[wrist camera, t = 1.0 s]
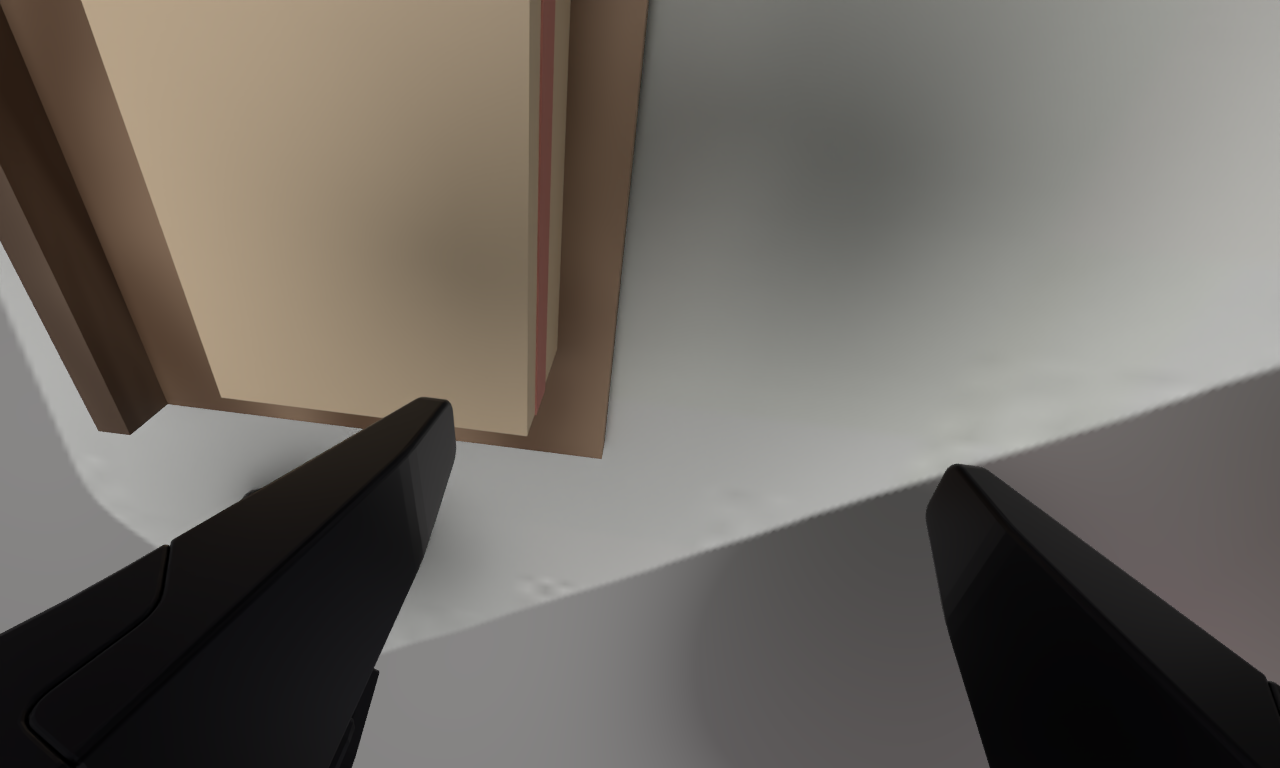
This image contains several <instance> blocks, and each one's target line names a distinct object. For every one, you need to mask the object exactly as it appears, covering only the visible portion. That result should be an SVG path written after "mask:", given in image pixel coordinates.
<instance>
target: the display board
mask: <svg viewBox="0 0 1280 768" xmlns="http://www.w3.org/2000/svg"><path fill="white" fill-rule="evenodd" d="M648 7H649V0H571V3H570V29H569V55H568V81H567V107H566V133H565V159H564V185H563V211H562V237H561V263H560V289H559V315H558V341H557V351H556V354H555V357H554V360H553V363H552V366H551V368H550V371H549V374H548V377H547V380H546V383H545V392H544V395H543V398H542V400H541V403H540V406H539V409H538V412H537V415H534V418H533V421H532V424H531V426H530V429H529V432H528V435H527V436H521V435H513V434H505V433H497V432H489V431H481V430H473V429H465V428H458V427H455V438H456V441H464V442H472V443H480V444H488V445H496V446H504V447H512V448H519V449H527V450H535V451H543V452H551V453H559V454H567V455H575V456H583V457H591V458H598V459H602V454H603V448H604V441H605V432H606V422H607V412H608V402H609V392H610V382H611V372H612V362H613V353H614V343H615V333H616V323H617V313H618V303H619V293H620V283H621V274H622V264H623V254H624V244H625V234H626V224H627V214H628V204H629V195H630V185H631V175H632V165H633V155H634V145H635V135H636V125H637V116H638V106H639V96H640V86H641V76H642V66H643V56H644V46H645V36H646V27H647V17H648ZM0 241H1V243H2V245H3V247H4V249H5V251H6V253H7V255H8V257H9V259H10V261H11V263H12V264H13V266H14V268H15V270H16V272H17V274H18V276H19V278H20V280H21V282H22V284H23V286H24V288H25V290H26V292H27V293H28V295H29V297H30V299H31V301H32V303H33V305H34V307H35V309H36V311H37V313H38V315H39V317H40V319H41V321H42V323H43V324H44V326H45V328H46V330H47V332H48V334H49V336H50V338H51V340H52V342H53V344H54V346H55V348H56V350H57V352H58V353H59V355H60V357H61V359H62V361H63V363H64V365H65V367H66V369H67V371H68V373H69V375H70V377H71V379H72V381H73V383H74V384H75V386H76V388H77V390H78V392H79V394H80V396H81V398H82V400H83V402H84V404H85V406H86V408H87V410H88V412H89V413H90V415H91V417H92V419H93V421H94V423H95V425H96V427H97V429H98V431H103V432H111V433H118V434H126V435H131V434H132V433H133V432H134V431H136V430H137V429H138V428H139V427H140V426H142V425H143V424H144V423H145V422H147V421H148V420H149V419H150V418H151V417H153V416H154V415H155V414H156V413H157V412H159V411H160V410H161V409H162V408H163V407H165V406H166V405H167V404H172V405H180V406H188V407H196V408H204V409H212V410H219V411H227V412H235V413H243V414H251V415H259V416H267V417H275V418H283V419H290V420H298V421H306V422H314V423H322V424H330V425H338V426H346V427H354V428H362V429H365V428H367V427H368V426H370V425H372V424H373V423H375V422H377V421H379V420H380V419H382V418H379V417H371V416H363V415H355V414H347V413H339V412H331V411H324V410H316V409H308V408H300V407H292V406H284V405H276V404H268V403H261V402H253V401H245V400H237V399H229V398H221V395H220V393H219V390H218V387H217V384H216V381H215V378H214V375H213V373H212V370H211V367H210V364H209V361H208V358H207V356H206V353H205V350H204V347H203V344H202V341H201V339H200V336H199V333H198V330H197V327H196V324H195V322H194V319H193V316H192V313H191V310H190V307H189V305H188V302H187V299H186V296H185V293H184V290H183V288H182V285H181V282H180V279H179V276H178V273H177V271H176V268H175V265H174V262H173V259H172V256H171V254H170V251H169V248H168V245H167V242H166V239H165V237H164V234H163V231H162V228H161V225H160V222H159V220H158V217H157V214H156V211H155V208H154V205H153V203H152V200H151V197H150V194H149V191H148V188H147V186H146V183H145V180H144V177H143V174H142V171H141V169H140V166H139V163H138V160H137V157H136V154H135V152H134V149H133V146H132V143H131V140H130V137H129V135H128V132H127V129H126V126H125V123H124V120H123V118H122V115H121V112H120V109H119V106H118V103H117V101H116V98H115V95H114V92H113V89H112V86H111V84H110V81H109V78H108V75H107V72H106V69H105V67H104V64H103V61H102V58H101V55H100V52H99V50H98V47H97V44H96V41H95V38H94V35H93V33H92V30H91V27H90V24H89V21H88V18H87V16H86V13H85V10H84V7H83V4H82V1H81V0H0Z"/></svg>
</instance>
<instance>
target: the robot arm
mask: <svg viewBox="0 0 1280 768" xmlns="http://www.w3.org/2000/svg"><path fill="white" fill-rule="evenodd" d="M455 455H456V438H455V427H454V416H453V408H452V405H451V403H450V402H449V401H448V400H446V399H438V398H430V397H419V398H417V399H415V400H413V401H411V402H410V403H408V404H406V405H405V406H403V407H401V408H399V409H398V410H396V411H394V412H392V413H391V414H389V415H387V416H386V417H384V418H382V419H380V420H379V421H377V422H375V423H373V424H372V425H370V426H368V427H367V428H365V429H363V430H361V431H360V432H358V433H356V434H354V435H353V436H351V437H349V438H348V439H346V440H344V441H342V442H341V443H339V444H337V445H335V446H334V447H332V448H330V449H329V450H327V451H325V452H323V453H322V454H320V455H318V456H316V457H315V458H313V459H311V460H310V461H308V462H306V463H304V464H303V465H301V466H299V467H297V468H296V469H294V470H292V471H291V472H289V473H287V474H285V475H284V476H282V477H280V478H278V479H277V480H275V481H273V482H272V483H270V484H268V485H266V486H265V487H263V488H261V489H259V490H258V491H256V492H250V493H247V494H246V495H245V496H244V497H243V498H242V499H241V500H240V501H239V502H237V503H235V504H234V505H232V506H230V507H228V508H227V509H225V510H223V511H221V512H220V513H218V514H216V515H215V516H213V517H211V518H209V519H208V520H206V521H204V522H202V523H201V524H199V525H197V526H196V527H194V528H192V529H190V530H189V531H187V532H185V533H183V534H182V535H180V536H178V537H177V538H175V539H173V540H172V541H171V544H170V546H169V545H162V546H161V547H159V548H157V549H156V550H154V551H152V552H150V553H149V554H147V555H145V556H143V557H142V558H140V559H138V560H136V561H135V562H133V563H131V564H130V565H128V566H126V567H124V568H122V569H121V570H119V571H117V572H116V573H113V574H112V575H110V576H108V577H106V578H104V579H103V580H101V581H99V582H97V583H96V584H94V585H92V586H90V587H88V588H87V589H85V590H83V591H81V592H79V593H78V594H76V595H74V596H72V597H70V598H69V599H67V600H65V601H63V602H61V603H59V604H57V605H55V606H53V607H51V608H49V609H47V610H45V611H44V612H42V613H40V614H38V615H36V616H34V617H32V618H30V619H28V620H26V621H24V622H23V623H20V624H19V625H17V626H15V627H13V628H11V629H9V630H7V631H5V632H3V633H1V634H0V768H352V765H353V762H354V759H355V756H356V753H357V749H358V746H359V742H360V739H361V735H362V732H363V728H364V725H365V721H366V718H367V714H368V710H369V707H370V704H371V700H372V696H373V693H374V690H375V686H376V683H377V679H378V675H379V671H378V670H376V669H374V666H375V664H376V662H377V660H378V658H379V655H380V653H381V651H382V649H383V647H384V644H385V642H386V640H387V638H388V636H389V633H390V631H391V629H392V627H393V625H394V622H395V620H396V618H397V616H398V613H399V611H400V609H401V607H402V605H403V602H404V600H405V598H406V596H407V594H408V591H409V589H410V587H411V585H412V583H413V580H414V578H415V576H416V574H417V572H418V570H419V567H420V564H421V562H422V560H423V557H424V554H425V551H426V548H427V545H428V543H429V539H430V536H431V533H432V530H433V527H434V524H435V521H436V517H437V514H438V511H439V508H440V505H441V502H442V498H443V495H444V492H445V489H446V486H447V483H448V479H449V476H450V473H451V470H452V467H453V464H454V460H455ZM926 525H927V530H928V536H929V541H930V546H931V552H932V557H933V562H934V567H935V573H936V578H937V583H938V588H939V594H940V599H941V604H942V609H943V613H944V617H945V622H946V625H947V629H948V633H949V636H950V640H951V643H952V646H953V649H954V653H955V656H956V659H957V662H958V665H959V669H960V672H961V675H962V679H963V682H964V685H965V688H966V692H967V695H968V698H969V701H970V705H971V708H972V711H973V714H974V718H975V721H976V724H977V727H978V731H979V734H980V737H981V740H982V744H983V747H984V750H985V754H986V757H987V760H988V763H989V767H990V768H1280V686H1279V685H1277V684H1276V683H1274V682H1272V681H1267V679H1266V677H1265V675H1264V674H1263V673H1261V672H1260V671H1258V670H1257V669H1256V668H1254V667H1253V666H1252V665H1250V664H1249V663H1248V662H1246V661H1245V660H1244V659H1242V658H1241V657H1240V656H1238V655H1237V654H1236V653H1234V652H1233V651H1231V650H1230V649H1229V648H1227V647H1226V646H1225V645H1223V644H1222V643H1221V642H1219V641H1218V640H1217V639H1215V638H1214V637H1213V636H1211V635H1210V634H1208V633H1207V632H1206V631H1204V630H1203V629H1202V628H1200V627H1199V626H1198V625H1196V624H1195V623H1194V622H1192V621H1191V620H1190V619H1188V618H1187V617H1186V616H1184V615H1183V614H1181V613H1180V612H1179V611H1177V610H1176V609H1175V608H1173V607H1172V606H1171V605H1169V604H1168V603H1167V602H1165V601H1164V600H1162V599H1161V598H1160V597H1159V596H1157V595H1156V594H1154V593H1153V592H1152V591H1150V590H1149V589H1147V588H1146V587H1145V586H1144V585H1142V584H1141V583H1140V582H1138V581H1137V580H1136V579H1134V578H1133V577H1131V576H1130V575H1129V574H1127V573H1126V572H1125V571H1123V570H1122V569H1121V568H1119V567H1118V566H1117V565H1115V564H1114V563H1113V562H1111V561H1110V560H1109V559H1107V558H1106V557H1104V556H1103V555H1102V554H1100V553H1099V552H1098V551H1096V550H1095V549H1094V548H1092V547H1091V546H1090V545H1088V544H1087V543H1086V542H1084V541H1083V540H1082V539H1080V538H1079V537H1078V536H1076V535H1075V534H1073V533H1072V532H1071V531H1069V530H1068V529H1067V528H1065V527H1064V526H1063V525H1061V524H1060V523H1059V522H1057V521H1056V520H1055V519H1053V518H1052V517H1051V516H1049V515H1048V514H1046V513H1045V512H1044V511H1042V510H1041V509H1040V508H1038V507H1037V506H1036V505H1034V504H1033V503H1032V502H1030V501H1029V500H1027V499H1026V498H1025V497H1023V496H1022V495H1021V494H1019V493H1018V492H1017V491H1015V490H1014V489H1013V488H1011V487H1010V486H1009V485H1007V484H1006V483H1005V482H1003V481H1002V480H1001V479H999V478H998V477H997V476H995V475H994V474H992V473H991V472H990V471H988V470H987V469H985V468H983V467H979V466H972V465H964V464H954V465H951V466H950V467H949V468H947V470H946V471H945V473H944V475H943V477H942V479H941V480H940V482H939V484H938V486H937V488H936V490H935V492H934V493H933V495H932V497H931V499H930V501H929V503H928V505H927V509H926Z"/></svg>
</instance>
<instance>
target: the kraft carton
mask: <svg viewBox="0 0 1280 768" xmlns="http://www.w3.org/2000/svg"><path fill="white" fill-rule="evenodd" d="M81 1H82V4H83V7H84V10H85V13H86V16H87V18H88V21H89V24H90V27H91V30H92V33H93V35H94V38H95V41H96V44H97V47H98V50H99V52H100V55H101V58H102V61H103V64H104V67H105V69H106V72H107V75H108V78H109V81H110V84H111V86H112V89H113V92H114V95H115V98H116V101H117V103H118V106H119V109H120V112H121V115H122V118H123V120H124V123H125V126H126V129H127V132H128V135H129V137H130V140H131V143H132V146H133V149H134V152H135V154H136V157H137V160H138V163H139V166H140V169H141V171H142V174H143V177H144V180H145V183H146V186H147V188H148V191H149V194H150V197H151V200H152V203H153V205H154V208H155V211H156V214H157V217H158V220H159V222H160V225H161V228H162V231H163V234H164V237H165V239H166V242H167V245H168V248H169V251H170V254H171V256H172V259H173V262H174V265H175V268H176V271H177V273H178V276H179V279H180V282H181V285H182V288H183V290H184V293H185V296H186V299H187V302H188V305H189V307H190V310H191V313H192V316H193V319H194V322H195V324H196V327H197V330H198V333H199V336H200V339H201V341H202V344H203V347H204V350H205V353H206V356H207V358H208V361H209V364H210V367H211V370H212V373H213V375H214V378H215V381H216V384H217V387H218V390H219V393H220V395H221V398H229V399H237V400H245V401H253V402H261V403H268V404H276V405H284V406H292V407H300V408H308V409H316V410H324V411H331V412H339V413H347V414H355V415H363V416H371V417H379V418H384V417H386V416H387V415H389V414H391V413H392V412H394V411H396V410H398V409H399V408H401V407H403V406H405V405H406V404H408V403H410V402H411V401H413V400H415V399H417V398H419V397H430V398H438V399H446V400H448V401H449V402H450V403H451V405H452V408H453V416H454V427H458V428H465V429H473V430H481V431H489V432H497V433H505V434H513V435H521V436H527V435H528V432H529V429H530V426H531V424H532V421H533V418H534V415H537V412H538V409H539V406H540V403H541V400H542V398H543V395H544V392H545V383H546V380H547V377H548V374H549V371H550V368H551V366H552V363H553V360H554V357H555V354H556V351H557V341H558V315H559V289H560V263H561V237H562V211H563V185H564V159H565V133H566V107H567V81H568V55H569V29H570V3H571V0H81Z"/></svg>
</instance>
